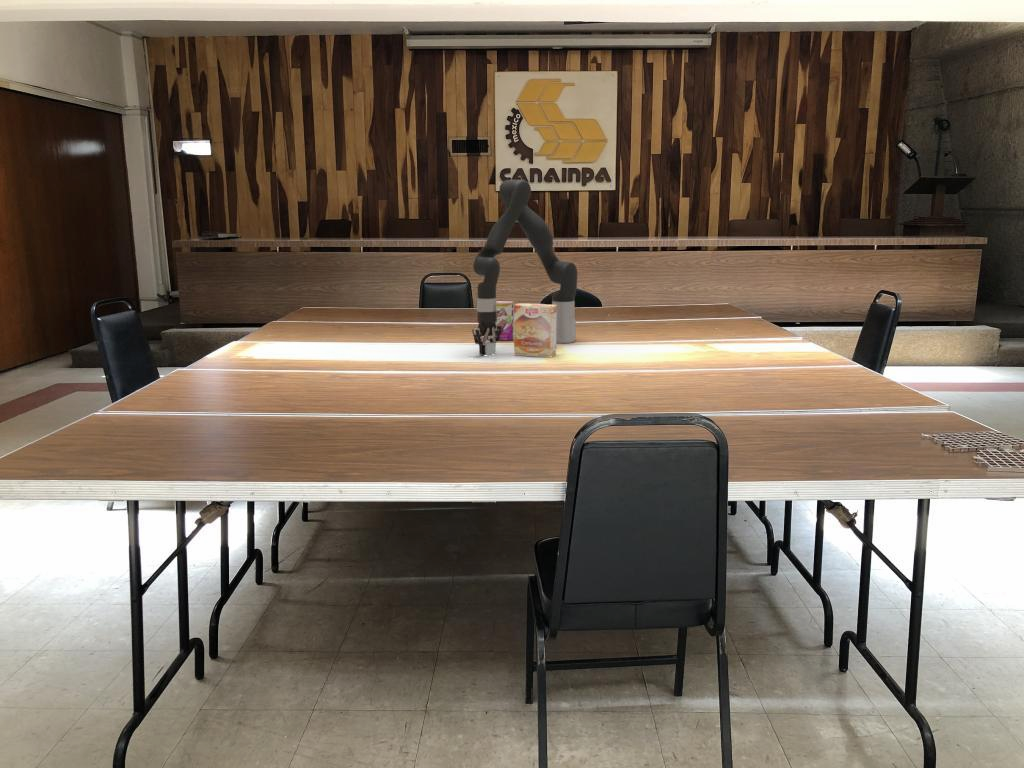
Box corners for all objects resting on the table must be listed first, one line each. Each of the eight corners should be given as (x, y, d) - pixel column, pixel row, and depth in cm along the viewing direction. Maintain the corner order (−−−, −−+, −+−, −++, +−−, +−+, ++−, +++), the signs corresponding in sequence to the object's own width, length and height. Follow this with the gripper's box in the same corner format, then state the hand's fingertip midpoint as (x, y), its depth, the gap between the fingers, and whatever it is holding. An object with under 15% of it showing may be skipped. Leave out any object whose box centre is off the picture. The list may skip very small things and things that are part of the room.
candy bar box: (486, 341, 359) (486, 302, 355) (488, 339, 363) (487, 300, 360) (513, 341, 357) (513, 302, 354) (514, 339, 362) (514, 301, 359)
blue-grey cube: (487, 353, 331) (487, 341, 330) (495, 354, 328) (495, 343, 327) (479, 354, 328) (479, 343, 327) (487, 356, 325) (487, 344, 324)
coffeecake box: (513, 355, 326) (513, 304, 322) (520, 352, 333) (520, 302, 329) (550, 358, 321) (550, 306, 316) (556, 354, 327) (556, 304, 323)
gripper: (493, 307, 332) (493, 350, 335) (466, 310, 322) (467, 355, 326) (507, 308, 327) (507, 352, 330) (480, 312, 317) (480, 357, 320)
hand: (487, 353), depth 328 cm, fingers closed on blue-grey cube, 4 cm apart
